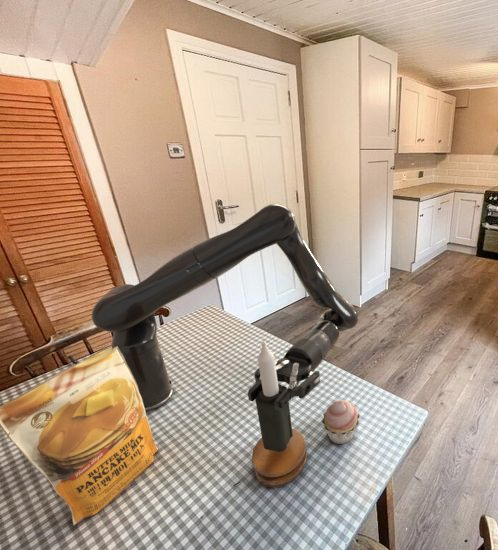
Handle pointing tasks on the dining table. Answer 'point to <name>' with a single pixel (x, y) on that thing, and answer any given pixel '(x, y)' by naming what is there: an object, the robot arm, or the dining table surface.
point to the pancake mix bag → (84, 431)
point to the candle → (272, 405)
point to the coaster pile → (280, 462)
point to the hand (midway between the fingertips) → (263, 401)
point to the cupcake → (341, 421)
